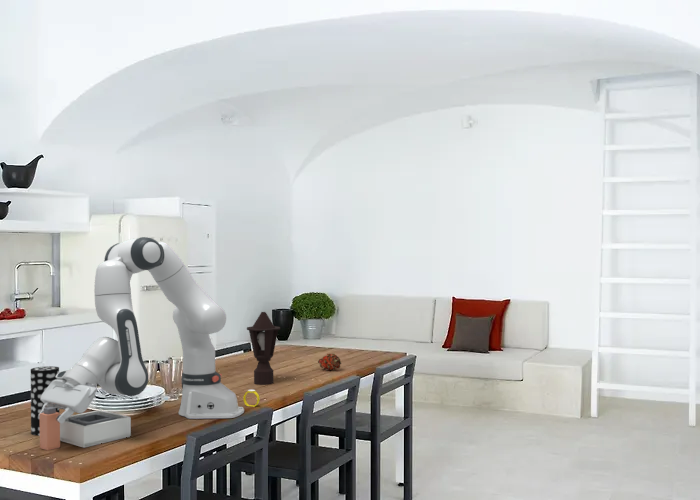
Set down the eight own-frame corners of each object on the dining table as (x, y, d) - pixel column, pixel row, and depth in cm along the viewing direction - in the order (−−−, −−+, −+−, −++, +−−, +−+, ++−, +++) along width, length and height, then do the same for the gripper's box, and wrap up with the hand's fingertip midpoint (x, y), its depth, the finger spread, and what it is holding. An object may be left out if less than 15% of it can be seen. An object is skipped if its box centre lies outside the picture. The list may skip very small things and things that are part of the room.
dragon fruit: (341, 375, 346) (319, 376, 352) (347, 362, 353) (326, 363, 359) (333, 361, 342) (311, 363, 349) (340, 348, 349) (318, 350, 355)
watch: (260, 406, 275) (261, 390, 275) (256, 408, 272) (257, 392, 272) (245, 404, 277) (246, 388, 277) (241, 406, 274) (242, 389, 274)
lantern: (284, 380, 326) (284, 310, 325) (277, 386, 311) (277, 313, 310) (250, 379, 327) (250, 310, 327) (242, 386, 312) (242, 313, 312)
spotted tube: (63, 428, 242) (62, 366, 242) (54, 435, 234) (53, 370, 233) (37, 429, 242) (36, 366, 241) (26, 435, 233) (26, 370, 233)
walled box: (100, 428, 242) (100, 409, 242) (130, 436, 232) (130, 416, 232) (54, 438, 229) (53, 419, 229) (84, 447, 219) (83, 427, 219)
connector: (52, 445, 222) (52, 406, 222) (60, 447, 220) (59, 407, 220) (39, 448, 219) (39, 408, 219) (47, 450, 217) (46, 410, 217)
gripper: (106, 391, 223) (76, 431, 215) (68, 384, 236) (38, 421, 228) (93, 378, 219) (62, 418, 212) (55, 371, 232) (24, 408, 224)
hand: (49, 419), depth 220 cm, fingers open, 8 cm apart
